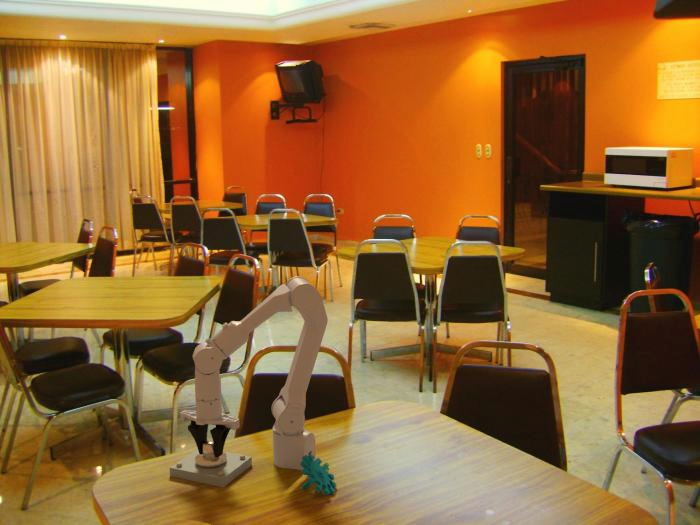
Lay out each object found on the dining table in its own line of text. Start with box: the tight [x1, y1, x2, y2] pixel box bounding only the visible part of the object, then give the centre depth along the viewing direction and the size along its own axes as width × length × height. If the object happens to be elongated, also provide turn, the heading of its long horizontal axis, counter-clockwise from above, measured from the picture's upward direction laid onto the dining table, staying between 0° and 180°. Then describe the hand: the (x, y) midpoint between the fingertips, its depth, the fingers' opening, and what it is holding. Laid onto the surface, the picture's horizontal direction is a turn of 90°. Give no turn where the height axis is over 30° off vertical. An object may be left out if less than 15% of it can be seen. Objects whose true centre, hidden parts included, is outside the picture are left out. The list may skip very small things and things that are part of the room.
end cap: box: [195, 438, 227, 468], centre depth 172 cm, size 7×7×6 cm
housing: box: [169, 448, 253, 488], centre depth 172 cm, size 14×12×4 cm
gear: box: [300, 454, 337, 496], centre depth 165 cm, size 11×6×10 cm
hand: (210, 454), depth 172 cm, fingers closed on end cap, 4 cm apart
